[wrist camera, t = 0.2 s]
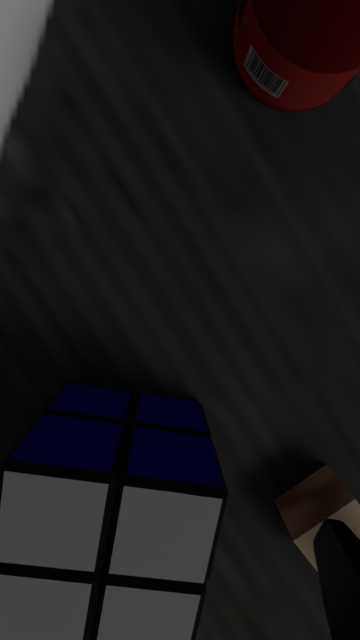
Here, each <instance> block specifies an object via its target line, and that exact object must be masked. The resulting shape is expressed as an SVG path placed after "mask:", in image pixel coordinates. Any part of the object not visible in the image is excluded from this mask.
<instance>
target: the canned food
mask: <svg viewBox="0 0 360 640" xmlns="http://www.w3.org/2000/svg"><path fill="white" fill-rule="evenodd" d="M233 51H234V57H235V62H236V67H237V70H238V72H239V75H240V77H241V79H242V81H243V83H244V84H245V86H246V87H247V89H248V90H249V91H250V92H251V93H252V94H253V95H254V96H255V97H256V98H257V99H258V100H260V101H261V102H262V103H264V104H265V105H267V106H270V107H272V108H274V109H277V110H282V111H287V112H298V111H303V110H307V109H311V108H314V107H317V106H319V105H321V104H324V103H326V102H328V101H329V100H331V99H332V98H333V97H335V96H336V95H337V94H339V93H340V92H341V91H342V90H343V89H344V88H345V87H346V86H347V85H348V84H349V83H350V82H351V81H352V80H353V79H354V78H355V77H356V76H357V75H358V74H359V73H360V0H240V3H239V7H238V10H237V14H236V17H235V22H234V28H233Z"/></svg>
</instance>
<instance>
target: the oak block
mask: <svg viewBox="0 0 360 640" xmlns="http://www.w3.org/2000/svg"><path fill="white" fill-rule="evenodd" d="M274 502H275V504H276V506H277V508H278V510H279V512H280V514H281V516H282V519H283V521H284V523H285V525H286V527H287V529H288V531H289V533H290V535H291V537H292V539H293V541H294V543H295V544H296V545H297V546H298V548H299V549H300V550H301V551H302V553H303V554H304V555H305V557H306V558H307V559H308V560H309V562H310V563H311V564H312V565H313V567H314V568H315V569H316V570H317V565H316V560H315V554H314V549H313V541H314V537H315V536H316V534H317V532H318V530H319V528H320V527H321V525H322V523H323V521H324V520H325V519H335V520H340V521H342V522H344V523H345V524H346V525H347V526H348V527H349V528H350V529H351V530H352V531H353V533H354V534H355V535H356V536H357V537H358V538H359V539H360V505H359V503H358V502H357V501H356V499H355V498H354V497H353V496H352V494H351V493H350V492H349V491H348V490H347V488H346V487H345V486H344V485H343V483H342V482H341V481H340V480H339V479H338V477H337V476H336V475H335V474H334V473H333V471H332V470H331V469H330V468H329V467H328V465H327V464H326V465H325V466H323V467H322V468H320V469H319V470H317V471H316V472H315V473H313V474H312V475H310V476H309V477H307V478H306V479H304V480H303V481H301V482H300V483H299V484H297V485H296V486H294V487H293V488H291V489H290V490H288V491H287V492H286V493H284V494H283V495H281V496H280V497H278V498H277V499H275V500H274ZM317 572H318V570H317Z"/></svg>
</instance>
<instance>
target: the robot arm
mask: <svg viewBox="0 0 360 640" xmlns="http://www.w3.org/2000/svg"><path fill="white" fill-rule="evenodd" d="M313 549H314V554H315V560H316V565H317V570H318V576H319V581H320V586H321V591H322V597H323V602H324V607H325V612H326V617H327V621H328V625H329V629H330V633H331V637H332V640H360V539H359V538H358V537H357V536H356V535H355V534H354V533H353V531H352V530H351V529H350V528H349V527H348V526H347V525H346V524H345V523H344V522H342V521H340V520H335V519H325V520H324V521H323V523H322V525H321V527H320V528H319V530H318V532H317V534H316V536H315V537H314V541H313Z"/></svg>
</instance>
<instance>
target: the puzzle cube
mask: <svg viewBox="0 0 360 640" xmlns="http://www.w3.org/2000/svg"><path fill="white" fill-rule="evenodd" d="M211 438H212V437H211V434H210V430H209V427H208V423H207V420H206V417H205V413H204V410H203V406H202V405H201V404H200V402H197V401H191V400H184V399H177V398H171V397H164V396H157V395H150V394H144V393H139V394H137V395H136V396H134V395H133V394H132V393H131V391H124V390H117V389H111V388H104V387H97V386H91V385H84V384H77V383H71V382H69V383H67V384H66V385H64V386H63V387H62V389H61V390H60V391H59V392H58V393H57V395H56V396H55V397H54V398H53V400H52V401H51V402H50V403H49V404H48V406H47V407H46V408H45V409H44V411H43V412H42V414H41V416H40V417H39V418H37V420H36V421H35V422H34V423H33V425H32V426H31V427H30V428H29V430H28V431H27V432H26V433H25V434H24V436H23V437H22V438H21V439H20V441H19V442H18V443H17V444H16V446H15V447H14V448H13V449H12V451H11V452H10V453H9V454H8V455H7V457H6V458H5V459H4V460H3V462H2V463H1V464H0V640H195V639H196V634H197V630H198V626H199V621H200V617H201V612H202V608H203V603H204V599H205V595H206V590H207V588H206V581H207V580H208V579H209V578H210V575H211V570H212V566H213V562H214V557H215V553H216V548H217V544H218V540H219V535H220V531H221V526H222V522H223V518H224V513H225V509H226V504H227V500H228V496H229V494H228V490H227V487H226V484H225V480H224V477H223V473H222V470H221V467H220V463H219V460H218V457H217V453H216V450H215V446H214V443H213V442H212V440H211Z"/></svg>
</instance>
